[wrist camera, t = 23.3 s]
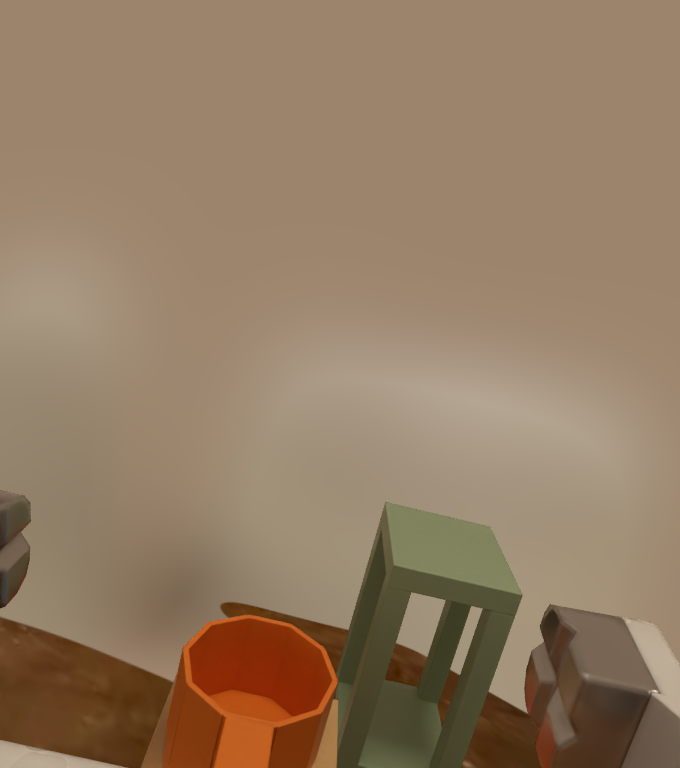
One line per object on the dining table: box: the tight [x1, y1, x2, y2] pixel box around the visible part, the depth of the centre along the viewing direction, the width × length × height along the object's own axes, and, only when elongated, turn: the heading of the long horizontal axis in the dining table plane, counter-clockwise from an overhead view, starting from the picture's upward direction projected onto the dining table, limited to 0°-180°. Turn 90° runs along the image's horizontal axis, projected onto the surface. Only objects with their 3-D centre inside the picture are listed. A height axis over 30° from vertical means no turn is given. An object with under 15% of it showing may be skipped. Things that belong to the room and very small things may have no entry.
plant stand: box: [333, 502, 522, 768], centre depth 45 cm, size 8×9×21 cm
